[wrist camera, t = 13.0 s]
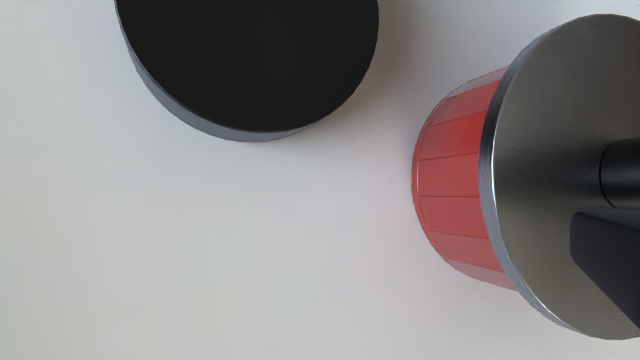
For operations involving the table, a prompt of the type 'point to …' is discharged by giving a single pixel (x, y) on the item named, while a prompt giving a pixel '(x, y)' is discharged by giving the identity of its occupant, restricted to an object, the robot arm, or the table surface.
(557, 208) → the lid
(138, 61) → the stand
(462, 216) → the red faceted pot
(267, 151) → the table surface
